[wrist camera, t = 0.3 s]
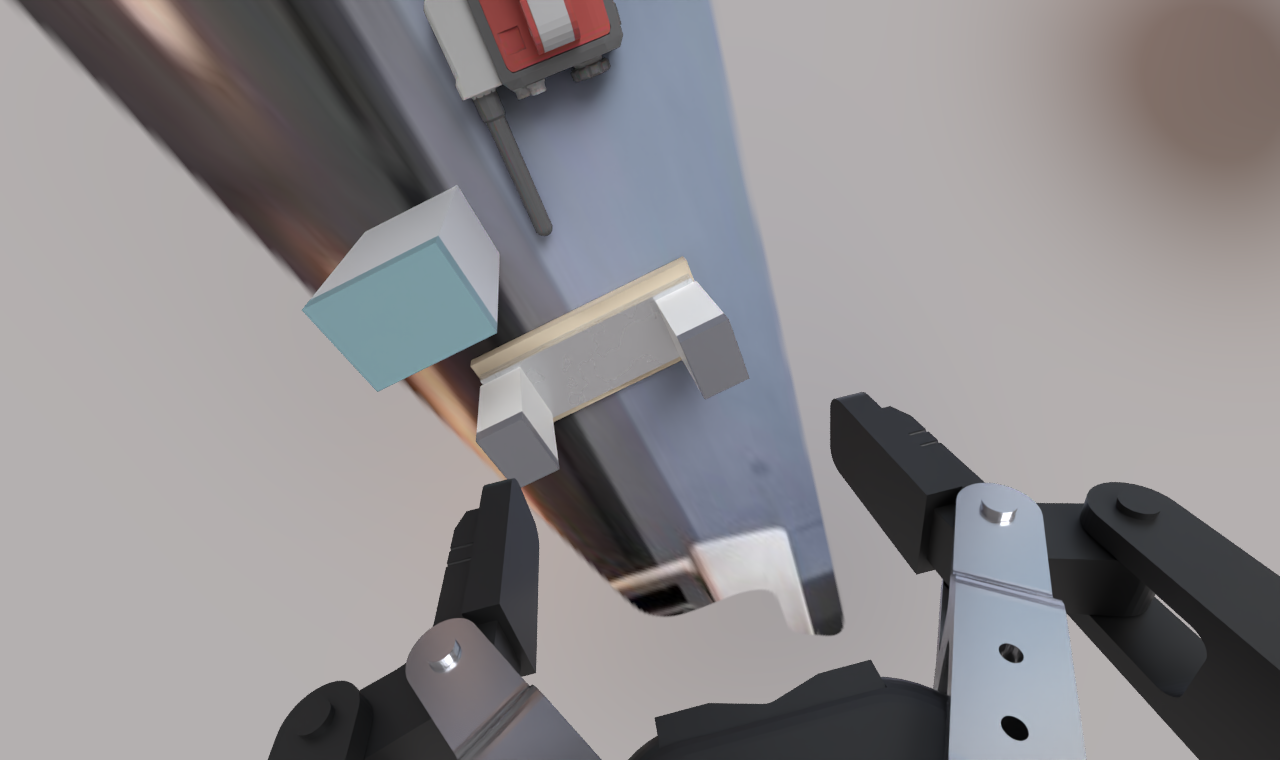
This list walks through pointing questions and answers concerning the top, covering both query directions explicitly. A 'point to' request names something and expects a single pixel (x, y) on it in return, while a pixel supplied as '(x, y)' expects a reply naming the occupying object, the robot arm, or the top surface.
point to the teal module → (412, 291)
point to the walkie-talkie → (521, 60)
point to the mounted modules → (524, 424)
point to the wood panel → (583, 317)
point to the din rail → (598, 353)
